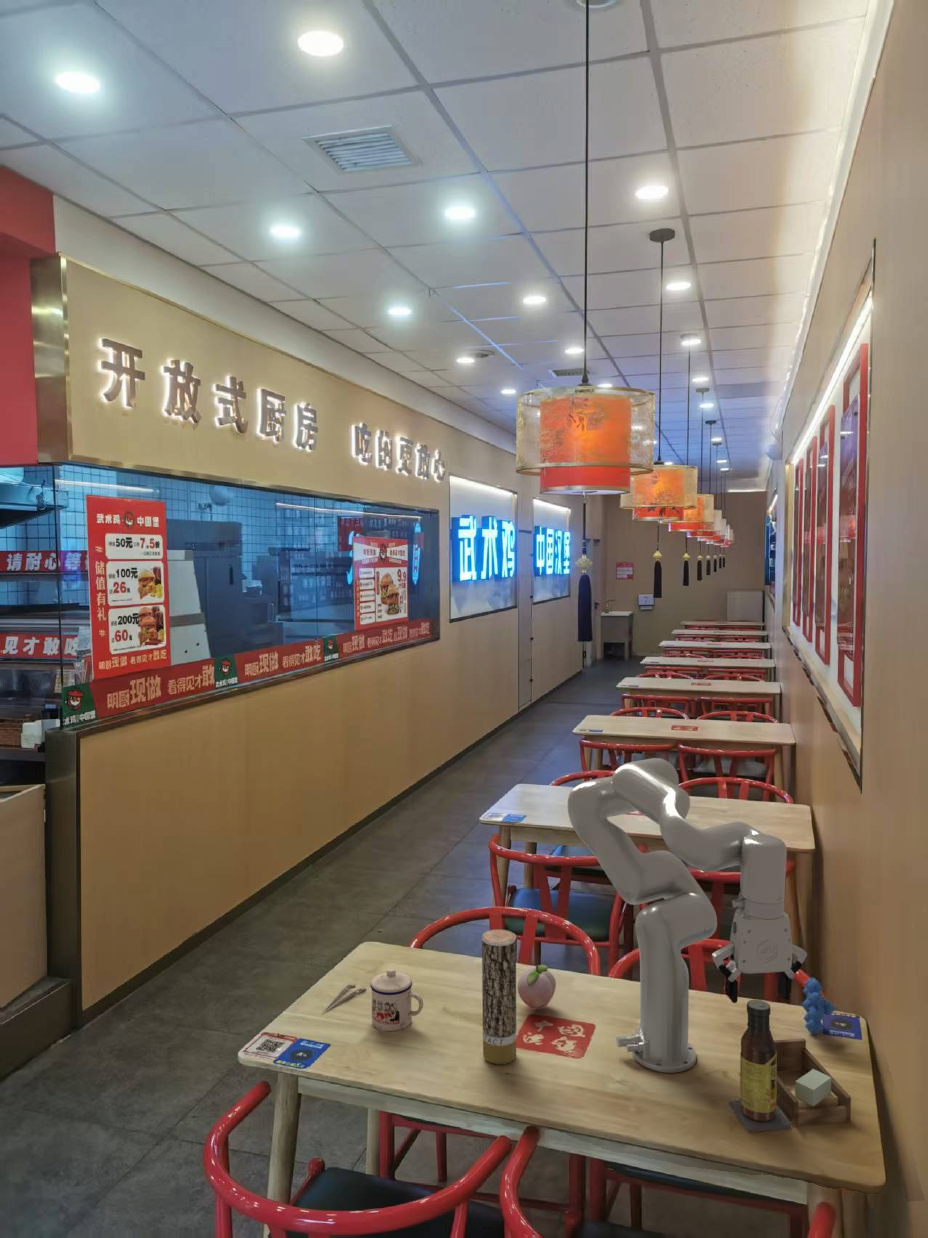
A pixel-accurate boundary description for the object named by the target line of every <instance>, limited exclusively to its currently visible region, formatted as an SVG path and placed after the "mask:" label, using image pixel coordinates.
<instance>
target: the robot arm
mask: <svg viewBox="0 0 928 1238" xmlns="http://www.w3.org/2000/svg"><path fill="white" fill-rule="evenodd" d="M679 782H680V781H679V774H678V772H677V770H676V768H675V767H674V766H673V764H672V763H670V762H669V761H668V760H666V759H663V758H659V757H652V758H647V759H642V760H636V761H631V762H626V763H623V764H621V765H620V766H619V767H617V769H615V771H614V772H613V773H612V775H611V776H605V777H601V778H595V779H591V780H590V779H589V780H587V781H583V782H581V783H580V784H577V785H576V786H574V787H573V789H572V790H571V791H570V793H569V795H568V798H567V813H568V817H569V822H570V823H571V826H572V828H573V830H574V831H575V833H576V834H577V836H578V837H579V839H580V840H581V841H582V842H583V843H584V845H585V846H586V847H587V848H588V849H589V851H590V852H591V854H593V855H594V857H595V858H596V860H597V861H598V863H599V865H600V866H601V868H602V870H603V871H604V873H605V875H606V876H607V878H608V879H609V880H610V882H611V885H613V887H614V889H615V890H616V891H617V893H618V894H619V896H620V897H621V899H623V901H624V902H626V903H627V904H629V905H634V906H635V905H641V904H645V903H651V902H653V901H656V900H659V901H657V902H653V903H651V904H648V905H646V906H644V908H642V909H641V910H640V911H639V912H638V915H636V918H635V923H634V926H635V927H634V928H635V935H636V940H637V943H638V944H637V946H638V950H639V952H638V953H639V967H640V968H639V976H640V977H639V980H640V981H639V982H640V985H639V986H640V989H639V990H640V991H639V992H640V994H639V995H640V996H639V998H640V999H639V1001H640V1002H639V1004H640V1005H639V1006H640V1008H639V1009H640V1010H639V1011H640V1013H639V1014H640V1015H639V1016H640V1017H639V1018H640V1019H639V1022H640V1023H639V1025H640V1026H639V1028H635V1033H632V1034H631V1036H630V1035H629V1036H626V1035H625V1036H623V1035H621V1036H616V1045H617V1047H618V1048H626V1052H627V1053H632V1055H633V1056H632V1057H633V1058H634V1059H635V1061H637V1063H639V1065H641V1066H643V1067H645V1068H646V1069H650V1070H652V1071H656V1072H659V1073H668V1074H669V1073H671V1074H673V1073H680V1072H684V1071H687V1070H689V1069H691V1068H692V1067H693V1066H694V1065H695V1063H696V1062H697V1052H696V1050H695V1048H694V1047H693V1046H692V1044H691V1043H689V1005H690V1004H689V1002H690V1001H689V994H690V993H689V991H690V990H689V987H690V986H689V983H690V981H689V969H688V966H687V964H686V961H685V960H684V958H683V957H682V953H681V952H682V951H681V950H683V948H686V947H688V946H690V945H694V944H696V943H699V942H702V941H705V940H707V939H709V938H710V937H712V936H713V935H714V934H715V932H716V930H717V927H718V926H717V925H718V917H717V913H716V910H715V908H714V906H713V904H712V902H711V901H710V899H709V898H708V896H707V895H706V893H705V891H704V890H703V889H702V887H701V885H700V884H699V883H698V881H697V880H696V879H695V877H694V876H693V875H692V874H691V872H690V871H689V869H688V867H687V866H686V865H685V864H684V862H685V863H686V864H688V865H690V866H691V867H693V868H695V869H696V870H700V871H702V872H706V873H712V872H717V871H721V870H724V869H727V868H732V867H735V866H736V867H738V866H740V882H739V883H740V884H739V885H740V886H739V887H740V888H739V889H740V890H739V893H738V898H737V899H734V900H732V901H731V903H732V907H733V908H734V909H736V910H735V912H734V916H733V919H732V920H733V921H732V924H731V930H730V938H729V944H727V945H725V946H724V947H721V948H720V949H717V950H716V951H714V952H713V953H712V954H711V958H712V960H713V962H714V964H715V966H716V968H717V969H718V970H719V972H721V974H722V975H724V977H725V980H724V993H725V995H726V997H727V998H729V1000H730V1001H731V1003H733V1004H737V1003H738V999H739V998H738V995H739V982H738V981H737V979H738V977H739V976H740V975H741V974H751V975H752V974H769V973H770V974H772V973H778V974H777V975H778V976H777V993H778V994H779V995H780V996H781V997H782V999H783V1000H785V1001H790V994H791V993H792V982H793V981H792V980H793V979H795V977H796V974H797V972H799V970H800V969H801V968H802V967H803V963H804V961H805V959H806V958H807V956H808V952H807V951H806V950H804V949H803V948H801V947H799V946H797V945H795V944H793V942H792V941H793V940H792V929H791V923H790V918H789V915H788V914H787V912H785V899H786V898H785V895H786V877H787V876H786V873H787V853H788V852H787V846H786V843H785V842H784V840H783V839H781V838H780V837H777V836H774V835H770V834H765V833H763V832H761V831H760V830H758V829H756V828H755V827H753V826H751V825H750V824H747V823H745V822H743V821H733V822H729V823H723V824H719V825H716V826H715V825H714V826H710V827H707V828H700V827H698V826H696V825H694V824H693V823H692V822H690V821H688V820H687V819H686V818H687V816H688V813H689V810H690V808H691V807H690V806H691V799H690V795H689V793H688V792H687V791H686V790H684V789H683V788H682V787H680V786H679ZM637 811H638V812H639V813H641V814H643V816H645V817H647V818H648V819H650V820H651V821H653V822H654V823H656V824H657V825H659V831H660V835H661V836H662V839H663V841H664V843H665V845H666V846H667V848H668V849H669V850H670V851H668V850H662V849H661V850H654V851H650V852H646V853H645V852H642V851H640V850H639V848H638V847H637V845H636V844H635V843H634V842H633V840H632V838H631V837H630V835H629V834H627V833H626V831H625V830H623V829H622V828H621V827H619V826H618V825H617V824H614V823H613V822H611V821H610V820H609V819H608V818H612V817H617V816H620V815H621V816H622V815H625V814H630V813H634V812H637ZM683 861H684V862H683ZM660 899H662V900H660ZM793 954H794V956H793ZM726 958H729V960H730V961H729V962H728V963H727V964H725V963H724V959H726Z"/></svg>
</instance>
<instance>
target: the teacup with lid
mask: <svg viewBox="0 0 928 1238" xmlns="http://www.w3.org/2000/svg"><path fill="white" fill-rule="evenodd" d="M369 986H370V989H371V1022H372V1025H373V1026H374V1027H375V1028H376V1029H378V1030H380V1031H385V1032H396V1031H400V1030H403V1029H406V1027H407V1028H408V1026H409V1025H410V1024H411V1022H412V1018H413V1017H414V1016H415V1017H416V1016H417V1015H419V1014H420V1013H421V1012H422V1011H423V1008H424V1000H423V997H422V996H421V995H420V994H418V993H417V992H414V991H412V986H413V981H412V978H411V977H410V976H409V975H408V974H406V973H403V972H401V971H400V972H399V971H396V969H395V968H392V967H390V968H387V970H386V972H383V973H378V974H377V975H375V976H374V977H373V978H372V980H371V982H370V985H369ZM412 998H414V999H416V1000H417V1002H418V1008H417V1010H412Z"/></svg>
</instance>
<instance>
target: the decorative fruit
mask: <svg viewBox="0 0 928 1238" xmlns="http://www.w3.org/2000/svg"><path fill="white" fill-rule="evenodd" d="M548 969H549V967H548V966H547V965H545V964H539V965H536V967H532V968H528V969H527V970H524V971H523V972H522V974H521V975H520V977H519V978H518V981H517V985H516V989H517V993H518V995H519V998H520V999H521V1001H523V1003H524V1004H525V1005H526V1006H527V1007H529V1008H530V1009H534V1010H541V1009H544V1008H545V1007H546V1006H548V1005H549V1004H550V1002H551V1000H552V998H553V996H554V994H555V991H556V987H557V982H556V979H555V977H554V975H553V974H552V972H551V971H550V970H548Z"/></svg>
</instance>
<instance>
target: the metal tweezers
mask: <svg viewBox="0 0 928 1238" xmlns="http://www.w3.org/2000/svg"><path fill="white" fill-rule="evenodd" d="M356 986H357V984H356V983H354V984H353V983H352V984H351V983H347V985H346V986H345V987H343V988H342V989H341V991H340V992H339V993H338V994H337V995H336V996H335V998H334V999H333V1000H332V1001H331V1002H330V1003H329V1005H328V1006H327V1007H326V1008H325V1009H324V1010H323V1011H322V1012H321V1013H320V1015H321V1016H323V1015H325V1014H326V1013H328V1012H329V1011H331V1010H332V1009H333V1008H335V1007H337V1006H339V1005H341V1004H342V1003H344V1002H346V1001H348V1000H349V999H351V998H353V997H355V996H356V995H358V994H360V993H363V992H365V991H366V990H367V987H365V986H361V987H360V988H357V989H356V990H354V991H352V992H351V993H349V994H348V995H346V996H345V997H343V996H344V995H345V994H346V993H347V992H348V991H349V990H350V989H352V988H354V987H356ZM342 997H343V998H342ZM340 998H341V999H340ZM339 999H340V1000H339ZM337 1000H339V1001H337Z"/></svg>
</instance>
